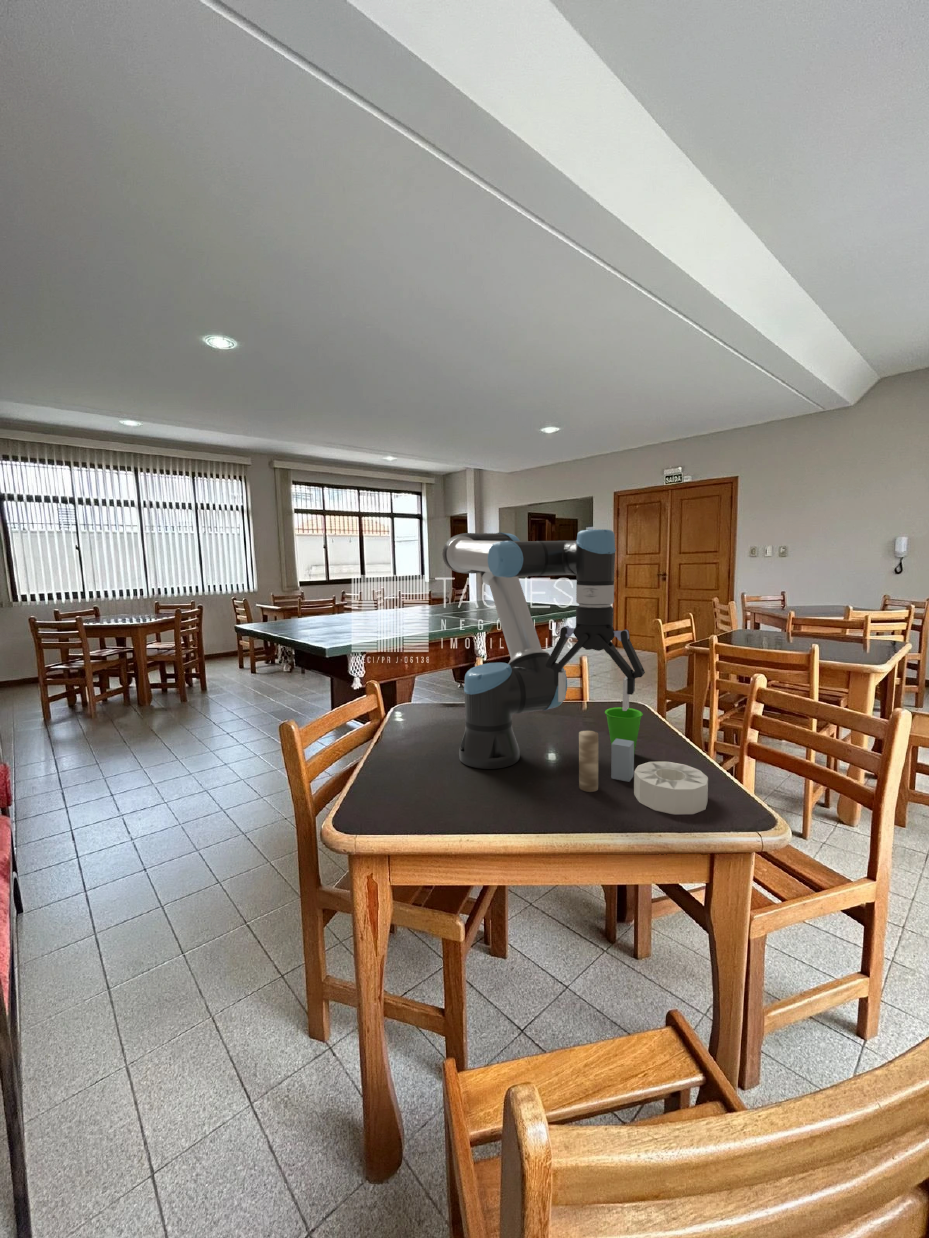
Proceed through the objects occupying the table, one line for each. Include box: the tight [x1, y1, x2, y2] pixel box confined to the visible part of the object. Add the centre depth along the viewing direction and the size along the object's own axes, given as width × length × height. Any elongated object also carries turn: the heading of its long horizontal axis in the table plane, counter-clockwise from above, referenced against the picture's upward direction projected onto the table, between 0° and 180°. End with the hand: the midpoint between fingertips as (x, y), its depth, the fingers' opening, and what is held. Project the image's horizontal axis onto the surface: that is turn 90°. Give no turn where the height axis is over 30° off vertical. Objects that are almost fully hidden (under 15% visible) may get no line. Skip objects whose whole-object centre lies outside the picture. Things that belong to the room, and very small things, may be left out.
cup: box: [604, 706, 644, 755], centre depth 125 cm, size 9×9×11 cm
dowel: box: [578, 730, 599, 793], centre depth 108 cm, size 4×4×12 cm
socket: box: [633, 761, 709, 815], centre depth 102 cm, size 14×14×5 cm
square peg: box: [610, 738, 635, 783], centre depth 113 cm, size 4×4×8 cm
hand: (592, 704), depth 107 cm, fingers open, 13 cm apart
